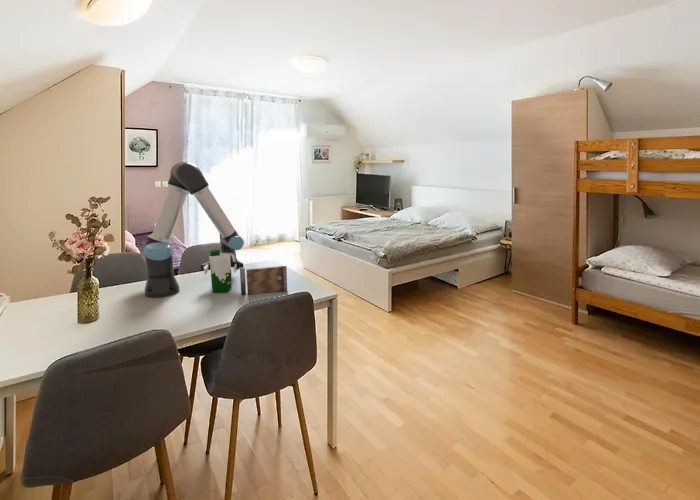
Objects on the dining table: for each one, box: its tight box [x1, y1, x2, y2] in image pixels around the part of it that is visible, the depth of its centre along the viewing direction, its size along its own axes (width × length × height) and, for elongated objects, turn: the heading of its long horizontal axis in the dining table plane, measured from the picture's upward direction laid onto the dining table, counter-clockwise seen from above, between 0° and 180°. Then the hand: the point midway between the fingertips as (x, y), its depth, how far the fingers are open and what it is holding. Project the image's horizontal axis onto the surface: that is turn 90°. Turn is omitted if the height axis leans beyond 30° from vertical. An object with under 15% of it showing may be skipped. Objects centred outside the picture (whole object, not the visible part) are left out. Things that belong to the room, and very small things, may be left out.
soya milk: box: [208, 249, 233, 294], centre depth 193 cm, size 9×9×20 cm
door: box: [246, 265, 283, 295], centre depth 191 cm, size 18×4×12 cm, turn 111°
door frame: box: [239, 264, 288, 296], centre depth 190 cm, size 22×2×13 cm, turn 106°
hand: (219, 270), depth 190 cm, fingers open, 13 cm apart
